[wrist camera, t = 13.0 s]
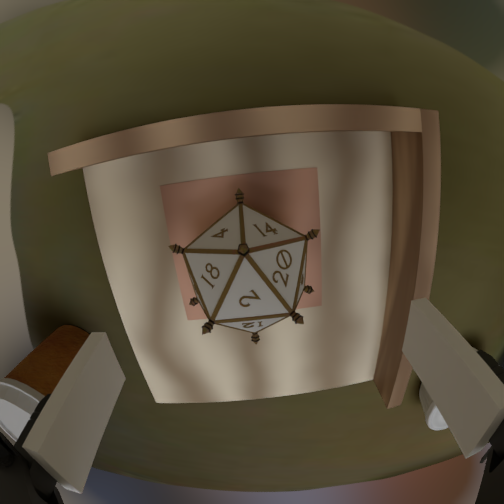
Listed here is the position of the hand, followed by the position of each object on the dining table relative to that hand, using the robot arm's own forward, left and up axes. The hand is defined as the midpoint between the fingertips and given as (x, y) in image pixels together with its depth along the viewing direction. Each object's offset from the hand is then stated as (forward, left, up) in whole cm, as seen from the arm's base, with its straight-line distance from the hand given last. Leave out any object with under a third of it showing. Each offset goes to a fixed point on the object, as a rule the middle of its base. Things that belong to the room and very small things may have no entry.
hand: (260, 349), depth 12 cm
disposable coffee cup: (+19, +9, -12) cm, 24 cm away
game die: (0, 0, -11) cm, 11 cm away
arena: (0, +3, -12) cm, 12 cm away
